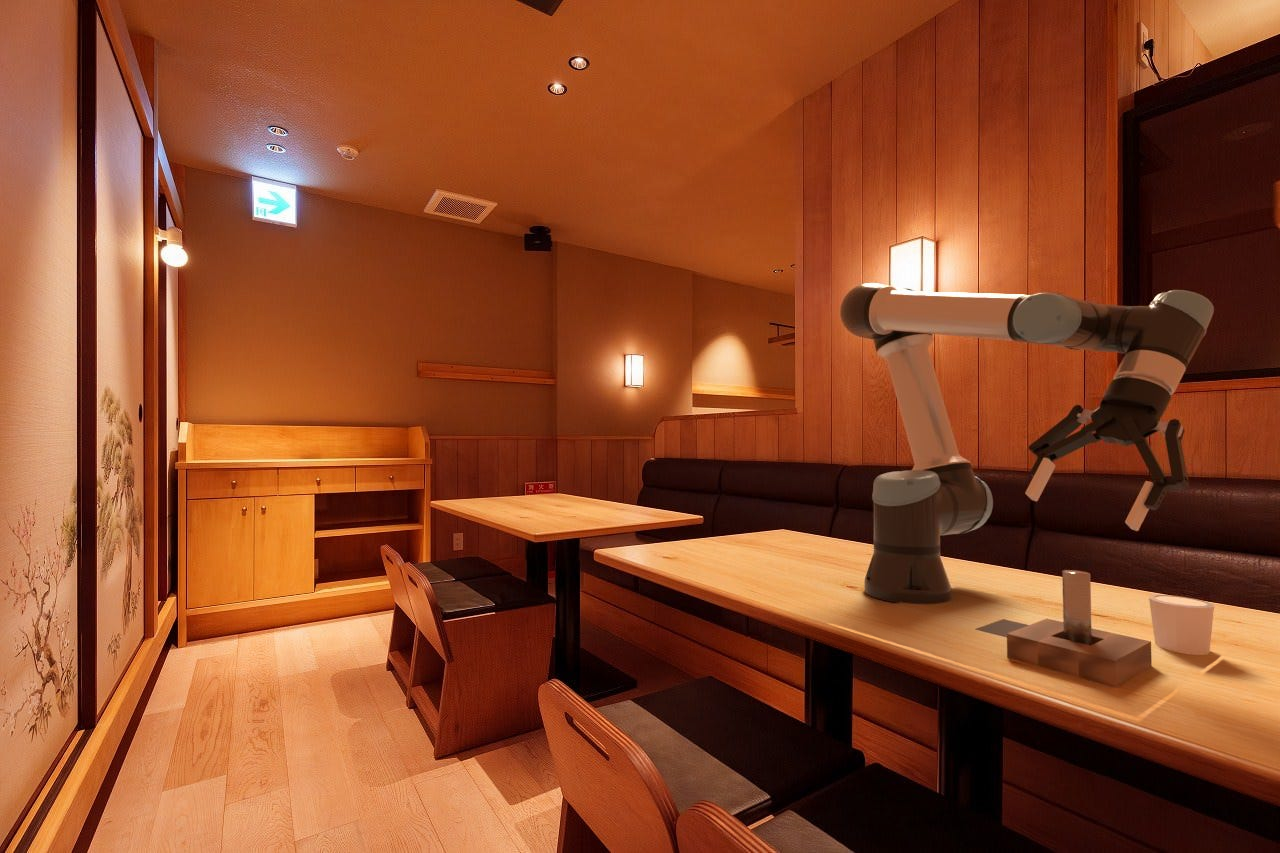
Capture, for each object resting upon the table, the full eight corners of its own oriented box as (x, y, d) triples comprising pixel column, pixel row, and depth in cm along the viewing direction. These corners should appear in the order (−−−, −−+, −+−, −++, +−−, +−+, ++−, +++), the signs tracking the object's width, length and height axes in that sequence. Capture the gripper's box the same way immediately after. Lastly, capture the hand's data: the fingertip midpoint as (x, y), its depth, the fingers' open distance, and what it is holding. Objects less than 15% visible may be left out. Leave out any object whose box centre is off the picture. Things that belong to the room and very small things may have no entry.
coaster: (975, 631, 92) (975, 628, 92) (1003, 621, 97) (1003, 619, 97) (1040, 648, 85) (1040, 645, 85) (1067, 636, 90) (1067, 633, 90)
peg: (1060, 663, 79) (1058, 572, 79) (1069, 658, 81) (1068, 569, 81) (1086, 670, 77) (1084, 576, 77) (1096, 665, 78) (1094, 573, 79)
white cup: (1193, 661, 80) (1191, 609, 80) (1137, 644, 86) (1136, 596, 86) (1228, 656, 81) (1227, 604, 82) (1171, 640, 88) (1170, 592, 88)
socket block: (1007, 659, 80) (1006, 633, 80) (1047, 642, 87) (1046, 618, 87) (1116, 690, 70) (1115, 660, 70) (1151, 668, 77) (1151, 641, 77)
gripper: (1259, 414, 81) (1190, 551, 79) (1063, 388, 103) (1006, 496, 101) (1245, 386, 77) (1173, 530, 76) (1044, 366, 99) (985, 477, 98)
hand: (1077, 511), depth 88 cm, fingers open, 13 cm apart
